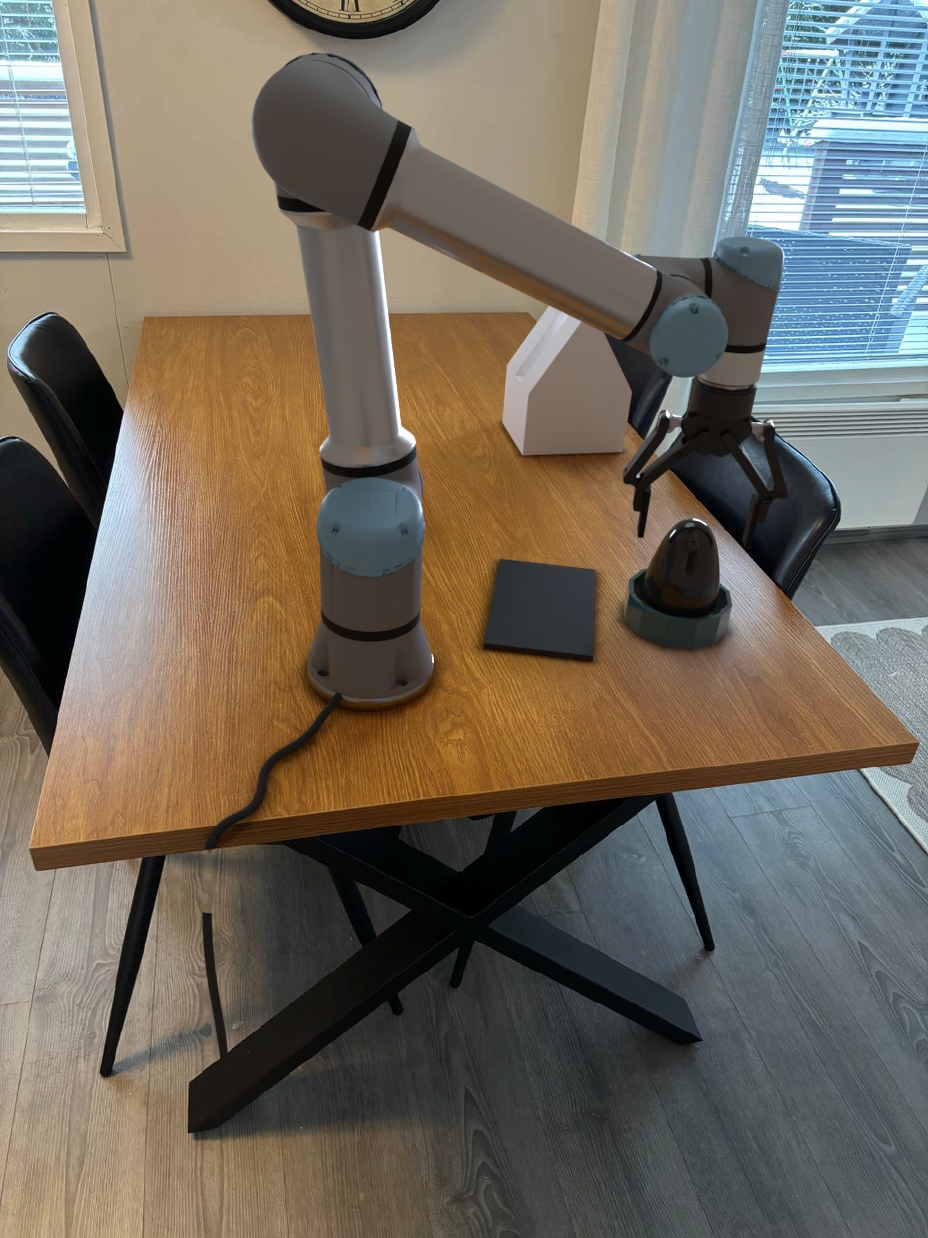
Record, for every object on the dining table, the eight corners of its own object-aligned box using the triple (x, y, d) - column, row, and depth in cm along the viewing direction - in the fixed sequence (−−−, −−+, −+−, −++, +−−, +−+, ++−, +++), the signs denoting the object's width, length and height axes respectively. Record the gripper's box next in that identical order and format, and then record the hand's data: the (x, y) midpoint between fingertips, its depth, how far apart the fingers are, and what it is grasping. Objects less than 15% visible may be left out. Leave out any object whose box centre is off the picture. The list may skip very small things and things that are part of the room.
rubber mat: (592, 661, 123) (593, 656, 122) (483, 648, 124) (483, 643, 123) (594, 573, 141) (595, 569, 140) (499, 563, 142) (499, 558, 141)
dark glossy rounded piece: (631, 632, 129) (649, 531, 120) (642, 593, 137) (660, 497, 129) (708, 648, 126) (732, 547, 118) (714, 608, 135) (737, 511, 126)
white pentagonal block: (522, 455, 175) (536, 316, 161) (502, 422, 187) (513, 291, 173) (622, 451, 179) (644, 316, 165) (596, 419, 191) (614, 291, 177)
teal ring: (729, 654, 126) (736, 625, 123) (624, 642, 127) (629, 613, 124) (719, 599, 137) (726, 572, 134) (623, 588, 138) (628, 561, 135)
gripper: (827, 377, 115) (786, 534, 127) (618, 359, 117) (597, 515, 129) (840, 400, 109) (795, 562, 121) (618, 380, 111) (596, 542, 123)
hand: (693, 538), depth 125 cm, fingers open, 13 cm apart
